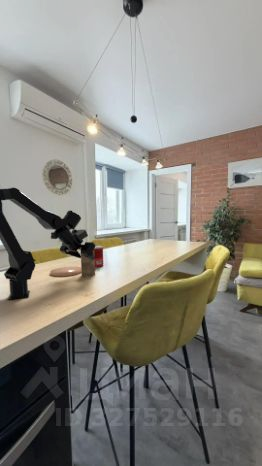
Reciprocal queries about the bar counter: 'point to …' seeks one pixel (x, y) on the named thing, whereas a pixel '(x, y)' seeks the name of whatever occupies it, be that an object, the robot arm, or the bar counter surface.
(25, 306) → the bar counter surface
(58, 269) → the terracotta dish
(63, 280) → the bar counter surface
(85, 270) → the walnut block
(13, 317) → the bar counter surface
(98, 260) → the canned food
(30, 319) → the bar counter surface
